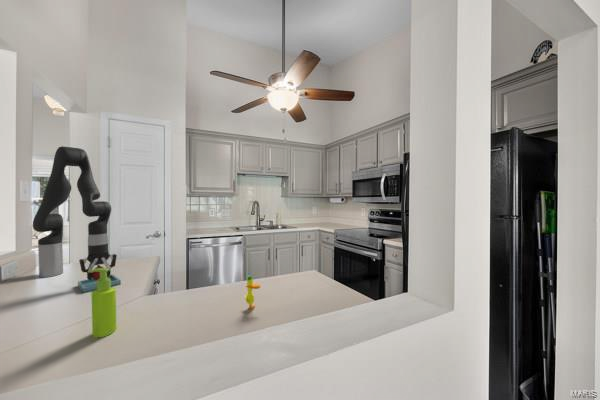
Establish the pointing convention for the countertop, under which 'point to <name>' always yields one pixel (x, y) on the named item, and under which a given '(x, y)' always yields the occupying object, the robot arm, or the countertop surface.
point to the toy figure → (250, 291)
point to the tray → (92, 284)
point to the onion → (96, 274)
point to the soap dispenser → (103, 305)
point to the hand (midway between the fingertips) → (99, 278)
